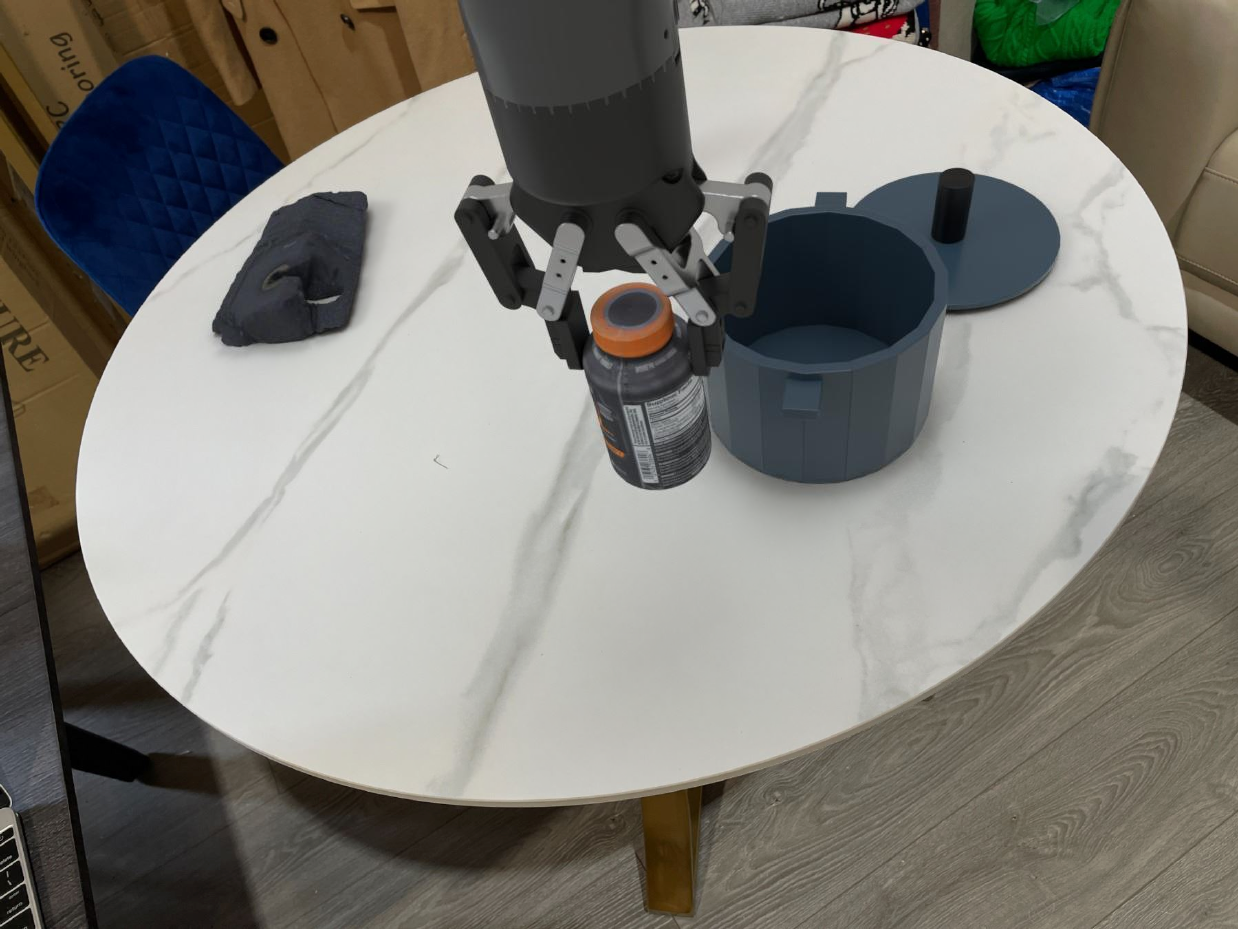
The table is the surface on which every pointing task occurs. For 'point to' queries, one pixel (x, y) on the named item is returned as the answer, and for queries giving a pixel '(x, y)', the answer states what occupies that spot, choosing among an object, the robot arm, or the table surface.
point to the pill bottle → (646, 388)
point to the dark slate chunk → (297, 272)
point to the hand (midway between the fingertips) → (642, 360)
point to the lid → (975, 231)
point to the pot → (830, 345)
